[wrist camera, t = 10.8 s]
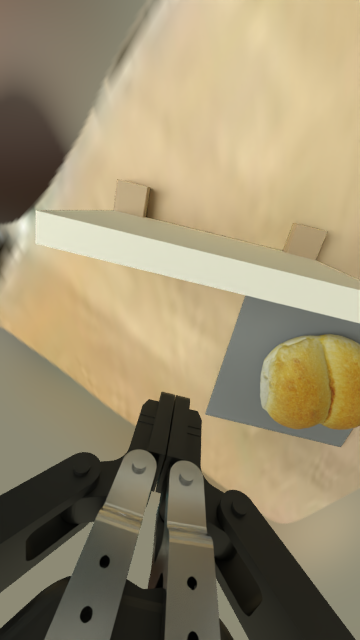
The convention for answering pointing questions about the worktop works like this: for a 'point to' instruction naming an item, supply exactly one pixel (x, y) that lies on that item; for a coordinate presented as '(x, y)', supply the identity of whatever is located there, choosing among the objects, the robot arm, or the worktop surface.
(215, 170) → the worktop surface
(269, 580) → the robot arm
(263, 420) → the mat
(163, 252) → the screen
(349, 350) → the bread roll
